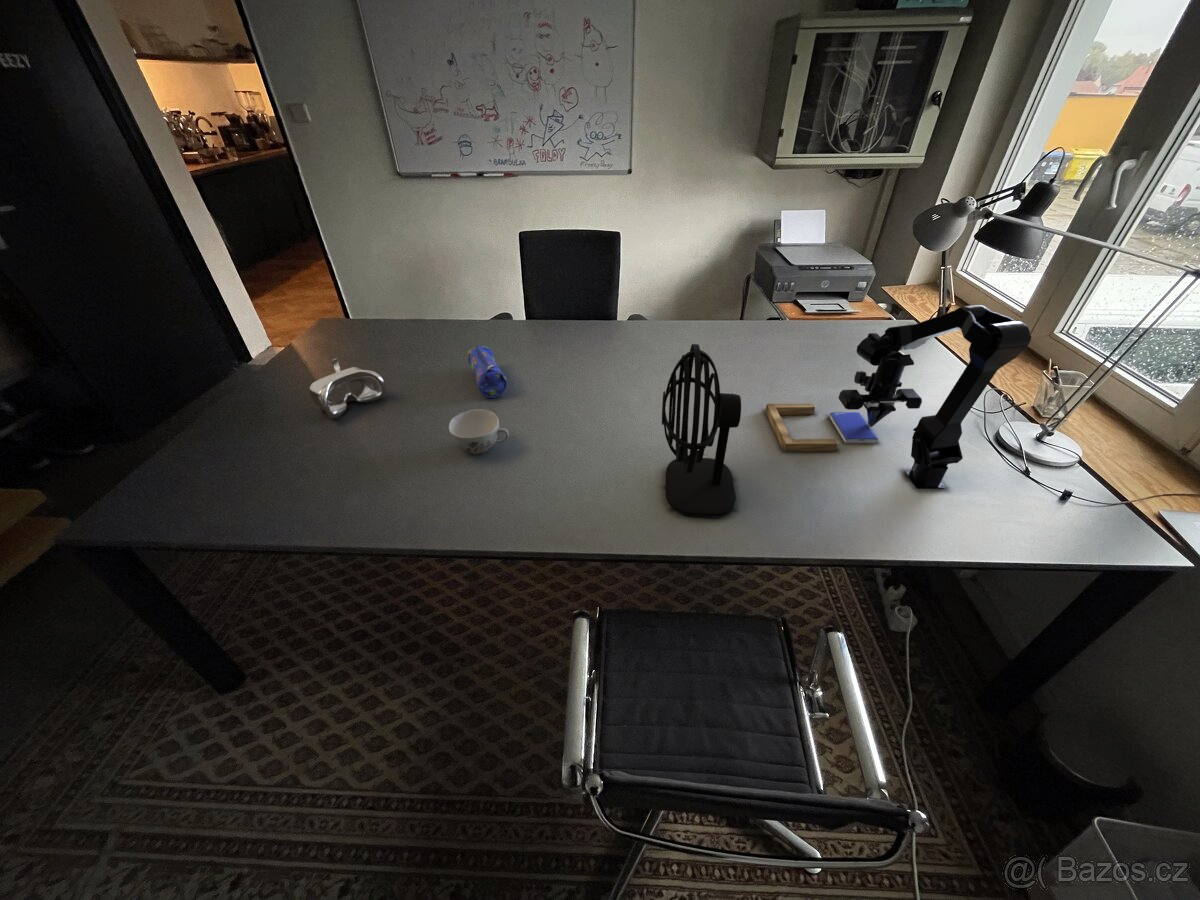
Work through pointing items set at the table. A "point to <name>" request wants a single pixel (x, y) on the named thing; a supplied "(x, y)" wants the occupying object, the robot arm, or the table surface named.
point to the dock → (783, 435)
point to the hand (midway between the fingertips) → (870, 425)
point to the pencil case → (486, 372)
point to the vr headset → (346, 389)
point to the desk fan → (692, 477)
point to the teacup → (476, 430)
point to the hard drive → (852, 427)
